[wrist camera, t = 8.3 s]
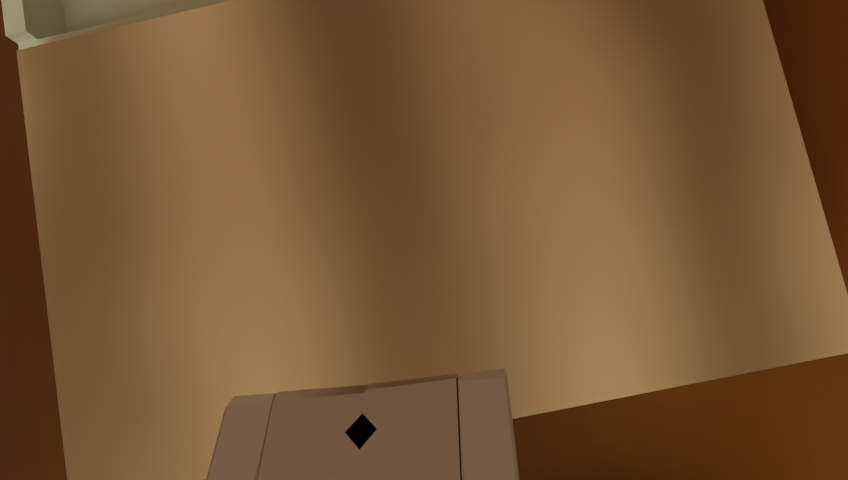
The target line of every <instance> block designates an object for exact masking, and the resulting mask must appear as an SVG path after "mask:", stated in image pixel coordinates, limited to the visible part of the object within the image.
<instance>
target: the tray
mask: <svg viewBox="0 0 848 480" xmlns="http://www.w3.org/2000/svg"><path fill="white" fill-rule="evenodd" d="M1 1H2V10H3V18H4V27H5V36H7V37H8V38H10V39H11V40H13V41H14V42H16V43H17V44H18V47H19V50H21V49H26V48H30V47H34V46H38V45H43V44H47V43H51V42H56V41H60V40H64V39H68V38H73V37H77V36H81V35H85V34H90V33H94V32H98V31H102V30H107V29H111V28H115V27H120V26H124V25H128V24H132V23H137V22H141V21H145V20H149V19H154V18H158V17H162V16H167V15H171V14H175V13H179V12H184V11H188V10H192V9H196V8H201V7H205V6H209V5H213V4H218V3H222V2H226V1H231V0H1Z"/></svg>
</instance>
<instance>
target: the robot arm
mask: <svg viewBox="0 0 848 480" xmlns="http://www.w3.org/2000/svg"><path fill="white" fill-rule="evenodd" d="M206 480H520V475H519V467H518V459H517V451H516V443H515V435H514V427H513V419H512V410H511V402H510V394H509V386H508V378H507V373H506V370H505V369H504V368H501V369H492V370H483V371H475V372H466V373H459V376H458V373H457V374H448V375H440V376H431V377H422V378H414V379H405V380H396V381H388V382H379V383H370V384H368V385H357V386H345V387H332V388H320V389H307V390H295V391H282V392H278V393H269V394H256V395H243V396H233V398H232V399H231V401H230V402H229V404H228V405H227V406H226V408H225V410H224V414H223V418H222V422H221V425H220V429H219V433H218V437H217V441H216V444H215V448H214V452H213V456H212V459H211V463H210V467H209V471H208V475H207V478H206Z"/></svg>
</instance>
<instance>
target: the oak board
mask: <svg viewBox="0 0 848 480" xmlns="http://www.w3.org/2000/svg"><path fill="white" fill-rule="evenodd" d="M17 59H18V67H19V76H20V84H21V93H22V101H23V110H24V118H25V127H26V135H27V143H28V152H29V160H30V169H31V177H32V186H33V194H34V203H35V211H36V219H37V228H38V236H39V245H40V253H41V262H42V270H43V279H44V287H45V295H46V304H47V312H48V321H49V329H50V338H51V346H52V354H53V363H54V371H55V380H56V388H57V397H58V405H59V414H60V422H61V430H62V439H63V447H64V456H65V464H66V473H67V480H204V479H206V478H207V475H208V471H209V467H210V463H211V459H212V456H213V452H214V448H215V444H216V441H217V437H218V433H219V429H220V425H221V422H222V418H223V414H224V410H225V408H226V406H227V405H228V404H229V402H230V401H231V399H232V398H233V396H243V395H256V394H269V393H278V392H282V391H295V390H307V389H320V388H332V387H345V386H357V385H368V384H370V383H379V382H388V381H396V380H405V379H414V378H422V377H431V376H440V375H448V374H457V373H458V376H459V373H466V372H475V371H483V370H492V369H501V368H504V369H505V370H506V373H507V378H508V386H509V394H510V402H511V410H512V419H515V418H520V417H525V416H530V415H535V414H540V413H545V412H550V411H556V410H561V409H566V408H571V407H576V406H581V405H586V404H591V403H596V402H601V401H606V400H612V399H617V398H622V397H627V396H632V395H637V394H642V393H647V392H652V391H657V390H662V389H668V388H673V387H678V386H683V385H688V384H693V383H698V382H703V381H708V380H713V379H718V378H724V377H729V376H734V375H739V374H744V373H749V372H754V371H759V370H764V369H769V368H775V367H780V366H785V365H790V364H795V363H800V362H805V361H810V360H815V359H820V358H825V357H831V356H836V355H841V354H846V353H848V294H847V291H846V287H845V284H844V280H843V277H842V273H841V270H840V266H839V263H838V259H837V256H836V252H835V249H834V246H833V242H832V239H831V235H830V232H829V228H828V225H827V221H826V218H825V214H824V211H823V207H822V204H821V200H820V197H819V193H818V190H817V186H816V183H815V179H814V176H813V173H812V169H811V166H810V162H809V159H808V155H807V152H806V148H805V145H804V141H803V138H802V134H801V131H800V127H799V124H798V120H797V117H796V113H795V110H794V107H793V103H792V100H791V96H790V93H789V89H788V86H787V82H786V79H785V75H784V72H783V68H782V65H781V61H780V58H779V54H778V51H777V47H776V44H775V41H774V37H773V34H772V30H771V27H770V23H769V20H768V16H767V13H766V9H765V6H764V2H763V0H231V1H226V2H222V3H218V4H213V5H209V6H205V7H201V8H196V9H192V10H188V11H184V12H179V13H175V14H171V15H167V16H162V17H158V18H154V19H149V20H145V21H141V22H137V23H132V24H128V25H124V26H120V27H115V28H111V29H107V30H102V31H98V32H94V33H90V34H85V35H81V36H77V37H73V38H68V39H64V40H60V41H56V42H51V43H47V44H43V45H38V46H34V47H30V48H26V49H21V50H17Z"/></svg>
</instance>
